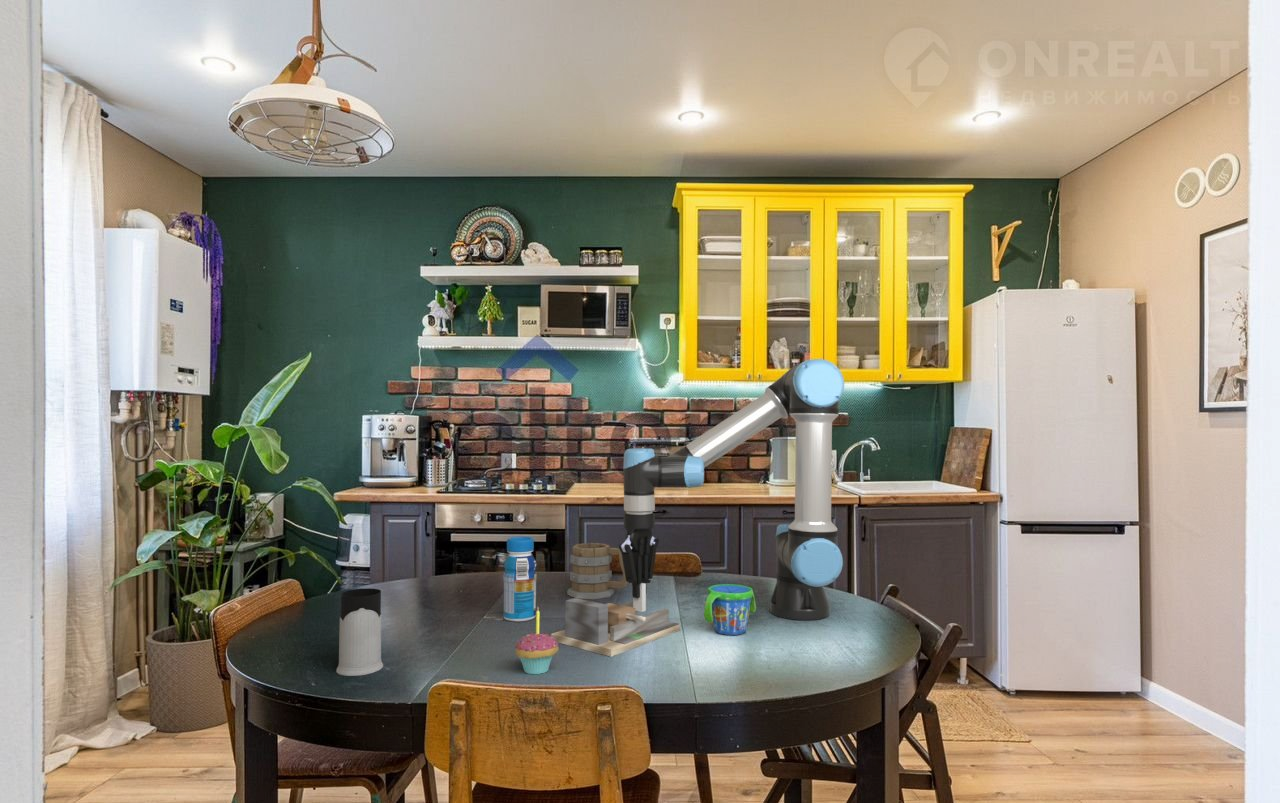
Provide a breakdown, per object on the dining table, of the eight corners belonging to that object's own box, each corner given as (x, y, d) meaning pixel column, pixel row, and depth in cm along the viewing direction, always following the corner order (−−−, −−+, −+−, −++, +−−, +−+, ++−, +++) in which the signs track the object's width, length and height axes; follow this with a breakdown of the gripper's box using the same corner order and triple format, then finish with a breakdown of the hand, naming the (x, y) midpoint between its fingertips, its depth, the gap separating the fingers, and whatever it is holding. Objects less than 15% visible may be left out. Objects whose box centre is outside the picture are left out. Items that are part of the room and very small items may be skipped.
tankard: (563, 598, 199) (564, 545, 200) (575, 588, 212) (575, 538, 212) (633, 601, 196) (633, 547, 197) (641, 591, 208) (641, 540, 209)
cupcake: (517, 663, 144) (517, 604, 145) (559, 662, 145) (559, 603, 145) (513, 678, 136) (513, 615, 136) (557, 677, 136) (558, 614, 137)
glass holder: (336, 678, 136) (337, 599, 136) (335, 656, 149) (337, 584, 149) (384, 672, 139) (385, 595, 140) (380, 651, 152) (381, 580, 153)
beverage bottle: (496, 620, 177) (496, 539, 177) (514, 612, 184) (515, 535, 185) (525, 623, 173) (526, 541, 174) (542, 615, 181) (543, 537, 182)
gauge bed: (680, 630, 168) (680, 589, 168) (611, 656, 149) (611, 611, 149) (622, 617, 179) (622, 579, 180) (550, 640, 160) (551, 598, 160)
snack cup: (740, 621, 176) (740, 580, 176) (770, 632, 167) (770, 588, 167) (690, 631, 167) (690, 588, 167) (719, 643, 158) (719, 597, 159)
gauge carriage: (652, 632, 160) (652, 611, 160) (635, 638, 155) (635, 617, 155) (609, 622, 168) (609, 602, 168) (592, 627, 163) (592, 607, 163)
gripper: (643, 508, 179) (644, 602, 178) (609, 513, 168) (610, 613, 168) (667, 510, 174) (668, 607, 173) (634, 516, 164) (634, 618, 163)
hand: (639, 610), depth 170 cm, fingers closed
